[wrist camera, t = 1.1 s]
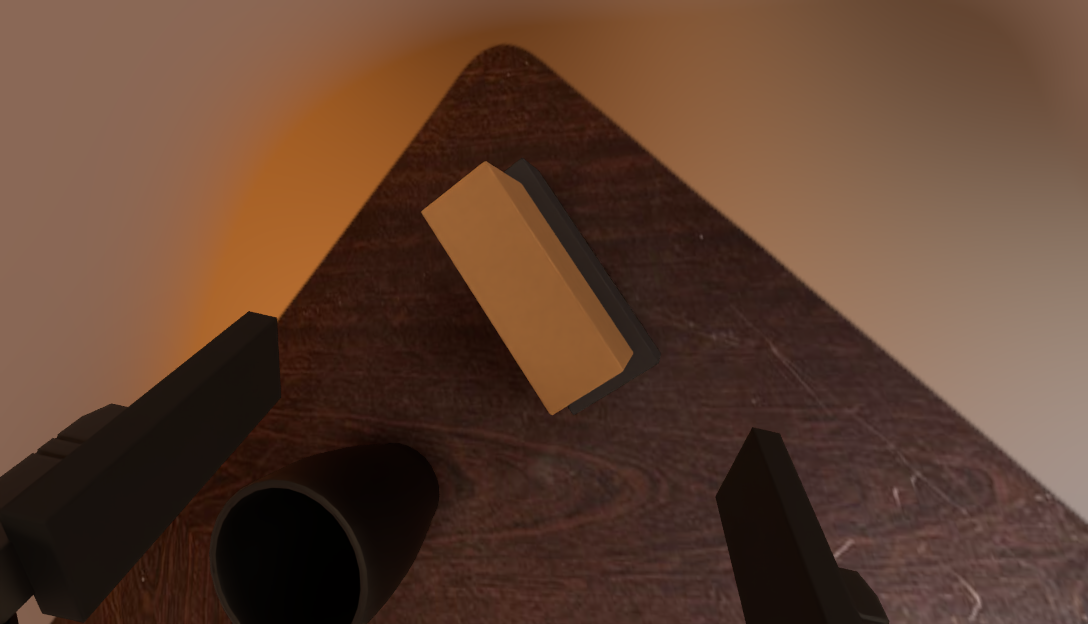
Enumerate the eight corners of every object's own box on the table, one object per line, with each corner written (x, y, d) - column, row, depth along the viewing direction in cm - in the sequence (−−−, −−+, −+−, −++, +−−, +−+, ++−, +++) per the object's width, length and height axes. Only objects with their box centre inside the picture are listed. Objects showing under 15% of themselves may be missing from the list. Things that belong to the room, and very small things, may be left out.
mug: (283, 520, 34) (137, 610, 25) (392, 393, 31) (275, 439, 22) (367, 617, 33) (247, 748, 24) (487, 493, 30) (405, 585, 21)
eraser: (537, 169, 29) (486, 127, 21) (661, 354, 27) (655, 383, 20) (467, 223, 30) (394, 202, 22) (583, 402, 29) (548, 447, 21)
